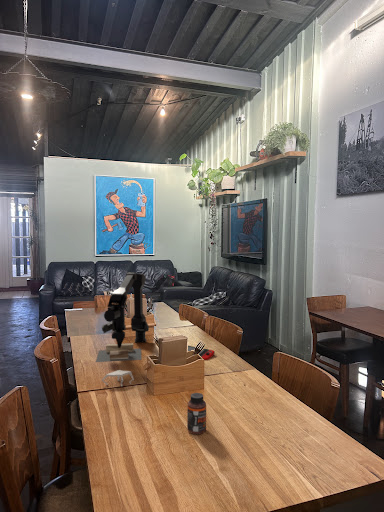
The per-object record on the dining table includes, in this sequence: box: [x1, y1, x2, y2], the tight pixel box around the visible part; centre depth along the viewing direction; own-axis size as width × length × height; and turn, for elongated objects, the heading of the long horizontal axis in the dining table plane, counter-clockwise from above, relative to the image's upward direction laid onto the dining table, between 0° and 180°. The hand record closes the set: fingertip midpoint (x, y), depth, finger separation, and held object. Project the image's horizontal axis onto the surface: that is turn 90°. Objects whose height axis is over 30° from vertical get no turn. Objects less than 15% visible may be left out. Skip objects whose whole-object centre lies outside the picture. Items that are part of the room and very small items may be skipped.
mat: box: [95, 348, 142, 363], centre depth 188 cm, size 18×22×1 cm
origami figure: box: [101, 369, 135, 387], centre depth 152 cm, size 12×8×5 cm
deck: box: [110, 350, 128, 359], centre depth 185 cm, size 6×9×2 cm, turn 99°
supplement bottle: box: [186, 392, 207, 435], centre depth 116 cm, size 6×6×11 cm
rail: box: [105, 342, 134, 353], centre depth 194 cm, size 3×14×4 cm, turn 99°
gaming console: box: [188, 345, 216, 361], centre depth 193 cm, size 29×4×10 cm
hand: (119, 347), depth 187 cm, fingers closed
